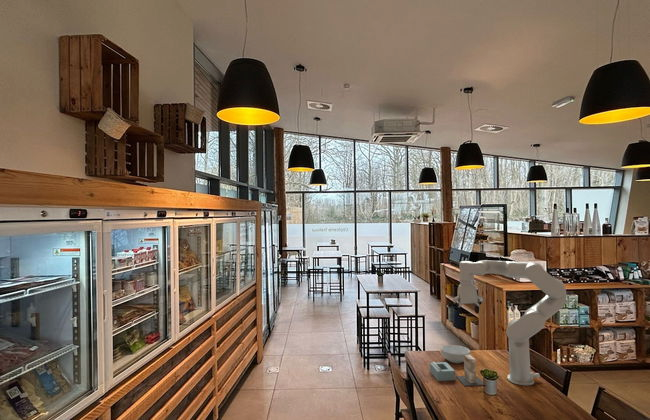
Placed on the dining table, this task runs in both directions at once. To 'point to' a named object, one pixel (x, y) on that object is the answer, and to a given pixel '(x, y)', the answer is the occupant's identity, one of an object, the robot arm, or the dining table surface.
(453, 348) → the cereal bowl
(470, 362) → the cream tall block
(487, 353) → the dining table surface
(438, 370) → the dispenser
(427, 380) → the dining table surface
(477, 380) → the mat
